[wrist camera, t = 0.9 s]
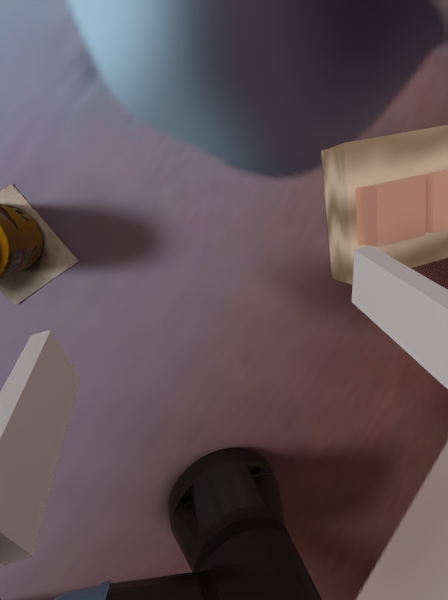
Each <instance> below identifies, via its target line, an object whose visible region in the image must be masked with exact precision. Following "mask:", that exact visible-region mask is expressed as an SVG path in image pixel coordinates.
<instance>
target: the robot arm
mask: <svg viewBox="0 0 448 600" xmlns="http://www.w3.org/2000/svg"><path fill="white" fill-rule="evenodd" d="M352 303H353V304H355V305H356V306H357V307H358V308H359V309H360V310H361V311H362V312H363V313H364V314H366V315H367V316H368V317H369V318H370V319H371V320H372V321H373V322H374V323H375V324H377V325H378V326H379V327H380V328H381V329H382V330H383V331H384V332H385V333H386V334H388V335H389V336H390V337H391V338H392V339H393V340H394V341H395V342H396V343H397V344H399V345H400V346H401V347H402V348H403V349H404V350H405V351H406V352H407V353H408V354H410V355H411V356H412V357H413V358H414V359H415V360H416V361H417V362H418V363H419V364H421V365H422V366H423V367H424V368H425V369H426V370H427V371H428V372H429V373H430V374H432V375H433V376H434V377H435V378H436V379H437V380H438V381H439V382H440V383H441V384H443V385H444V386H445V387H446V388H447V389H448V290H447V289H446V288H444V287H442V286H440V285H439V284H437V283H435V282H433V281H432V280H430V279H428V278H426V277H425V276H423V275H421V274H420V273H418V272H416V271H414V270H413V269H411V268H409V267H407V266H406V265H404V264H402V263H400V262H399V261H397V260H395V259H393V258H392V257H390V256H388V255H387V254H385V253H383V252H381V251H380V250H378V249H376V248H374V247H373V246H367V247H363V248H360V249H356V250H355V253H354V270H353V287H352ZM79 380H80V376H79V375H78V373H77V371H76V370H75V368H74V367H73V365H72V363H71V362H70V360H69V358H68V357H67V355H66V354H65V352H64V350H63V349H62V347H61V346H60V344H59V342H58V341H57V339H56V338H55V336H54V334H53V333H52V331H51V330H49V331H45V332H41V333H38V334H34V335H31V337H30V339H29V340H28V342H27V344H26V346H25V348H24V350H23V352H22V353H21V355H20V357H19V359H18V361H17V363H16V364H15V366H14V368H13V370H12V372H11V374H10V375H9V377H8V379H7V381H6V383H5V385H4V387H3V388H2V390H1V392H0V563H1V564H2V565H6V564H9V563H12V562H16V561H19V560H22V559H25V558H28V557H31V556H33V554H34V550H35V546H36V542H37V539H38V535H39V531H40V527H41V524H42V520H43V516H44V512H45V509H46V505H47V501H48V497H49V493H50V490H51V486H52V482H53V478H54V475H55V471H56V467H57V463H58V460H59V456H60V452H61V448H62V445H63V441H64V437H65V433H66V429H67V426H68V422H69V418H70V414H71V411H72V407H73V403H74V399H75V396H76V392H77V388H78V384H79ZM169 516H170V524H171V529H172V532H173V535H174V537H175V539H176V541H177V543H178V545H179V547H180V549H181V551H182V552H183V554H184V556H185V558H186V560H187V562H188V564H189V566H190V568H191V570H192V572H193V573H184V574H176V575H169V576H162V577H155V578H148V579H140V580H133V581H126V582H119V583H111V584H110V582H103V583H102V584H101V585H100V586H95V587H90V588H85V589H80V590H75V591H70V592H66V593H63V594H61V595H59V596H58V597H56V598H55V599H54V600H322V599H321V597H320V595H319V593H318V591H317V589H316V587H315V585H314V583H313V581H312V579H311V577H310V575H309V573H308V571H307V569H306V567H305V565H304V563H303V561H302V559H301V557H300V555H299V553H298V551H297V549H296V547H295V545H294V543H293V541H292V539H291V537H290V535H289V533H288V531H287V529H286V526H285V522H284V516H283V510H282V503H281V497H280V491H279V486H278V482H277V480H276V477H275V475H274V473H273V472H272V470H271V468H270V466H269V464H268V463H267V461H266V460H265V459H264V458H263V457H261V456H260V455H259V454H257V453H255V452H252V451H250V450H245V449H225V450H221V451H217V452H214V453H212V454H209V455H207V456H205V457H203V458H201V459H200V460H198V461H197V462H195V463H194V464H192V465H191V466H190V467H189V468H188V469H187V470H186V471H185V472H184V473H183V474H182V475H181V476H180V478H179V479H178V480H177V482H176V484H175V485H174V487H173V490H172V492H171V495H170V499H169ZM0 600H1V599H0Z"/></svg>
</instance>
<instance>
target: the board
mask: <svg viewBox="0 0 448 600" xmlns="http://www.w3.org/2000/svg"><path fill="white" fill-rule="evenodd" d="M322 165H323V177H324V189H325V201H326V213H327V225H328V237H329V249H330V261H331V273H332V279H335V280H338V281H341V282H344V283H348V284H351V285H353V270H354V253H355V250H356V249H360V248H363V247H367V245H358V231H357V212H356V193H355V188H358V187H363V186H368V185H373V184H377V183H382V182H387V181H391V180H396V179H401V178H407V177H410V176H415V175H420V174H424V173H429V172H434V171H439V170H443V169H448V125H445V126H439V127H433V128H428V129H422V130H416V131H410V132H405V133H399V134H393V135H387V136H382V137H376V138H370V139H364V140H359V141H353V142H348V143H343V144H340V145H337V146H334V147H332V148H329V149H326V150H324V151H322ZM373 247H374V248H376V249H378V250H380V251H381V252H383V253H385V254H387V255H388V256H390V257H392V258H393V259H395V260H397V261H399V262H400V263H402V264H404V265H406V266H407V267H409V268H414V267H417V266H421V265H424V264H427V263H431V262H434V261H438V260H441V259H445V258H448V229H444V230H440V231H436V232H426V234H425V235H421V236H417V237H414V238H410V239H406V240H402V241H399V242H395V243H391V244H387V245H383V246H380V247H375V246H373Z"/></svg>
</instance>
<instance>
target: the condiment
mask: <svg viewBox="0 0 448 600" xmlns="http://www.w3.org/2000/svg"><path fill="white" fill-rule="evenodd" d="M44 251H46V254H44ZM45 255H46V256H47V259H45ZM78 261H79V260H78V259H77V258H76V257H75V256H74V255H73V254H72V252H71V251H70V250H69V249H68V248H67V247H66V246H65V245H64V243H63V242H62V241H61V240H60V239H59V237H58V236H57V235H56V234H55V233H54V232H53V231H52V230H51V228H50V227H49V226H48V225H47V224H46V222H45V221H44V220H43V219H42V218H41V217H40V216H39V214H38V213H37V212H36V211H35V210H34V209H33V208H32V206H31V205H30V204H29V203H28V202H27V201H26V200H25V198H24V197H23V196H22V195H21V194H20V193H19V191H18V190H17V189H16V188H15V187H14V186H13V185H12V184H10V185H9V186H7V187H6V188H4V189H3V190H1V191H0V290H1V291H2V292H3V293H4V295H5V296H6V297H7V298H8V299H9V300H11V301H12V302H13V303H14V304H15V305H17V304H18V303H20V302H21V301H22V300H24V299H25V298H27V297H28V296H30V295H31V294H33V293H34V292H35V291H37V290H38V289H40V288H41V287H42V286H44V285H45V284H47V283H48V282H50V281H51V280H52V279H54V278H55V277H57V276H58V275H59V274H61V273H62V272H64V271H65V270H67V269H68V268H69V267H71V266H72V265H74V264H75V263H77V262H78Z"/></svg>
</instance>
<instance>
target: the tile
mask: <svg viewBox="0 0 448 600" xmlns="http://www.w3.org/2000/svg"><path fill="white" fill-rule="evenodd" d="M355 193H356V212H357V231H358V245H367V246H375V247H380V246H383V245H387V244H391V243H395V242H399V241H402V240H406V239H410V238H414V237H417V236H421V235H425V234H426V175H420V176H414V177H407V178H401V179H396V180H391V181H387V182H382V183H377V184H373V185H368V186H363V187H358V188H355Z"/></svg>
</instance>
